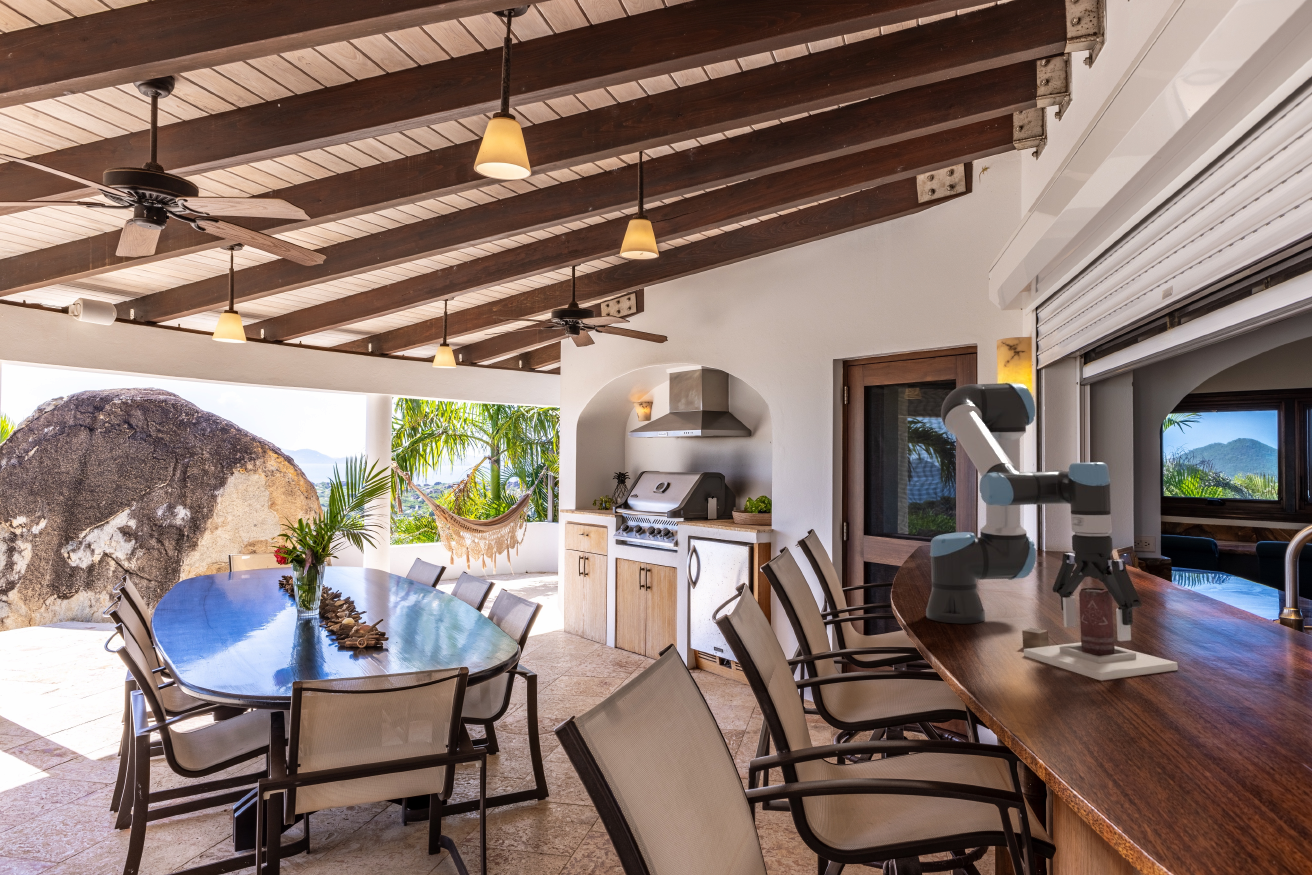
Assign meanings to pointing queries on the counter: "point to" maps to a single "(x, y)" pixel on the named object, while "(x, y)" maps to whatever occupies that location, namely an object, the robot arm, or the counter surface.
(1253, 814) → the counter surface
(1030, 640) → the walnut block
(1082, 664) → the board
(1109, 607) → the can
